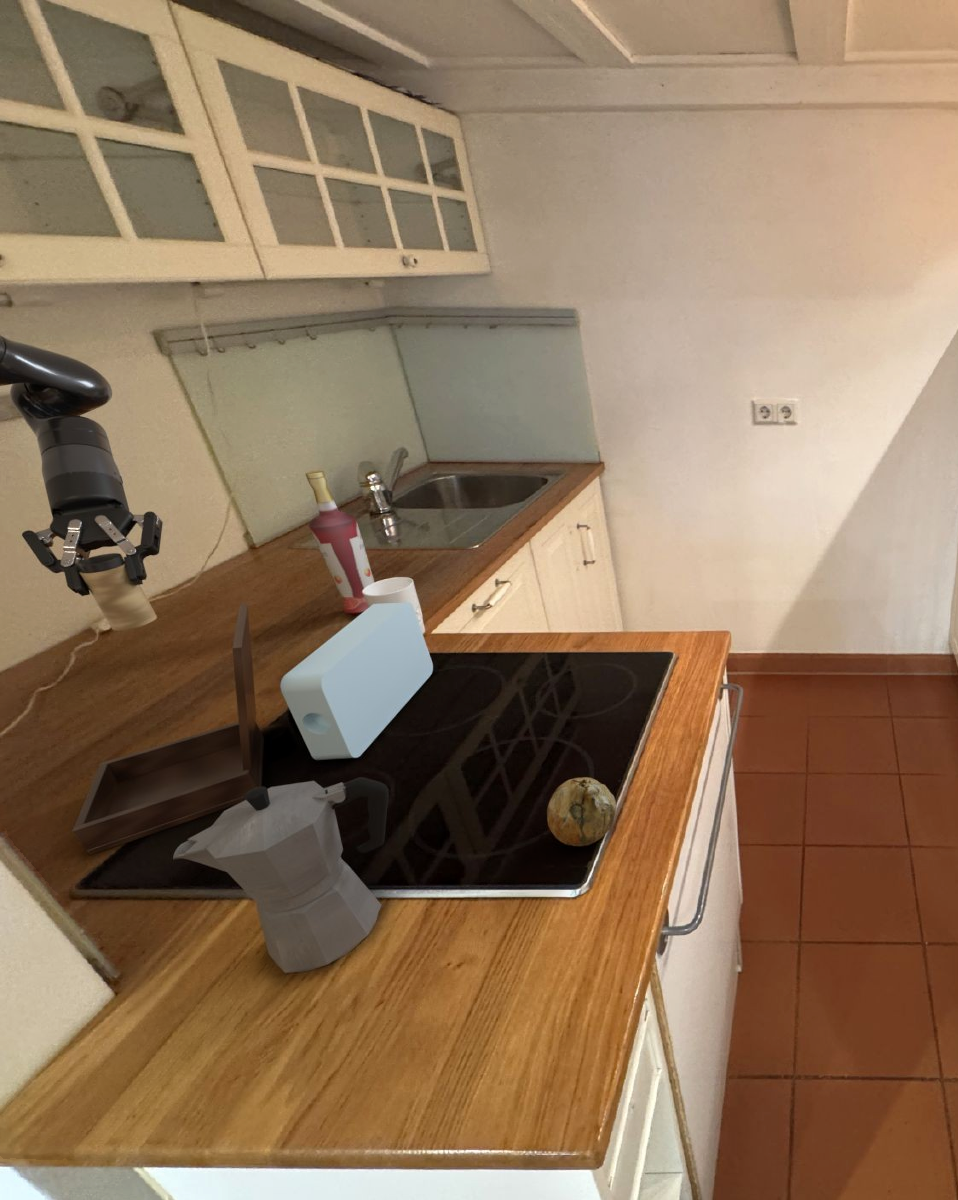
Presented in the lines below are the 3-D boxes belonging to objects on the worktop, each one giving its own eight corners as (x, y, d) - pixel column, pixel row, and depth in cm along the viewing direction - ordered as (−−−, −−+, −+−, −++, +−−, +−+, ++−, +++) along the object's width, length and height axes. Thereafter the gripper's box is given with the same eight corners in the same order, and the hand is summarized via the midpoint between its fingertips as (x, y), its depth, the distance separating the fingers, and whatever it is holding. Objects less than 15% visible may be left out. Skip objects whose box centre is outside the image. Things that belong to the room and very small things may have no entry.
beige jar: (108, 634, 91) (70, 568, 87) (115, 621, 95) (79, 558, 91) (154, 623, 94) (119, 559, 90) (159, 611, 97) (125, 549, 93)
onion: (626, 802, 79) (616, 750, 76) (618, 853, 72) (605, 798, 69) (562, 810, 78) (548, 757, 75) (547, 863, 71) (531, 807, 68)
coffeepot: (239, 1008, 58) (140, 861, 50) (248, 931, 65) (163, 791, 57) (433, 919, 65) (375, 779, 57) (423, 858, 72) (369, 726, 64)
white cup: (437, 631, 121) (421, 582, 117) (393, 650, 115) (375, 599, 111) (415, 621, 125) (399, 573, 121) (372, 638, 119) (353, 589, 115)
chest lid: (232, 648, 75) (241, 647, 76) (239, 604, 86) (247, 604, 87) (242, 770, 80) (251, 769, 81) (248, 715, 91) (256, 714, 91)
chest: (89, 856, 74) (71, 831, 72) (115, 785, 85) (100, 762, 83) (261, 796, 82) (248, 772, 81) (264, 739, 93) (253, 717, 91)
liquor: (389, 611, 129) (340, 472, 117) (346, 622, 125) (290, 480, 113) (384, 599, 135) (336, 465, 122) (342, 610, 130) (288, 472, 118)
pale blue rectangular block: (399, 672, 108) (372, 600, 102) (434, 670, 108) (410, 598, 103) (309, 765, 87) (269, 682, 81) (354, 762, 88) (317, 679, 82)
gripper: (-5, 479, 87) (18, 591, 83) (139, 461, 94) (166, 563, 91) (29, 508, 93) (52, 613, 90) (162, 488, 101) (188, 585, 97)
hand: (110, 587), depth 90 cm, fingers closed on beige jar, 5 cm apart
